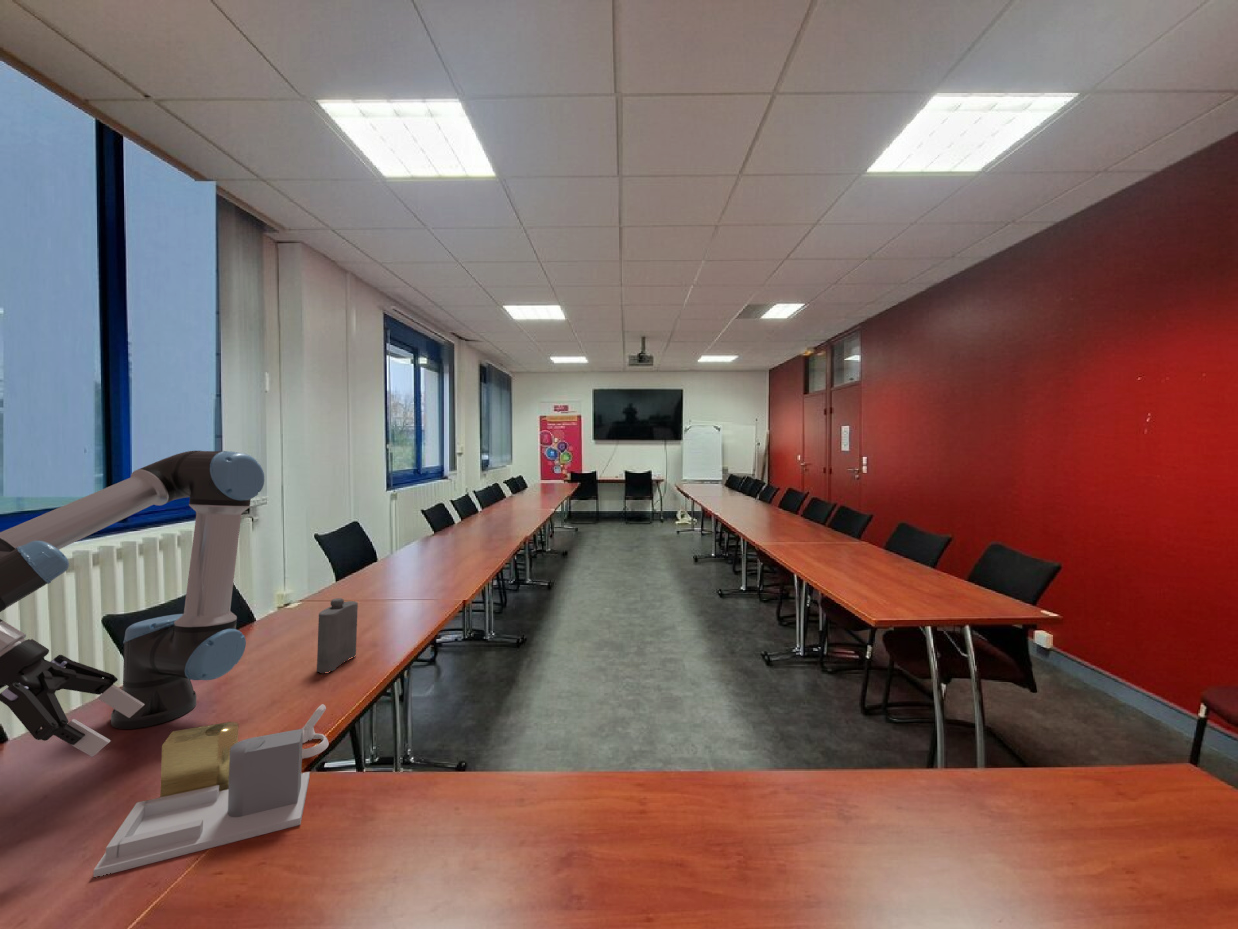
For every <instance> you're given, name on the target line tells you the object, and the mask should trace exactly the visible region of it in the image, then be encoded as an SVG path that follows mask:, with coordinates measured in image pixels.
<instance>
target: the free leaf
mask: <svg viewBox="0 0 1238 929" xmlns="http://www.w3.org/2000/svg"><path fill="white" fill-rule="evenodd" d="M238 742H239V723H238V722H234V721H228V722H221V723H216V724H209V725H204V726H203V725H202V726H198V727H191V728H185V729H178V730H173V731H172V732H171V733H170V734H169V735H168V737H167V738H166V740H165V741H164V742H163V744H162V746H161V765H160V766H161V769H160V797H165V796H170V795H174V794H179V793H184V792H189V791H193V790H198V789H203V788H207V787H212V786H217V785H219V791H223V790H228V789H229V763H230V748H231V747H232V746H233V745H234V744H236V743H238ZM160 797H159V798H160Z"/></svg>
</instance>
